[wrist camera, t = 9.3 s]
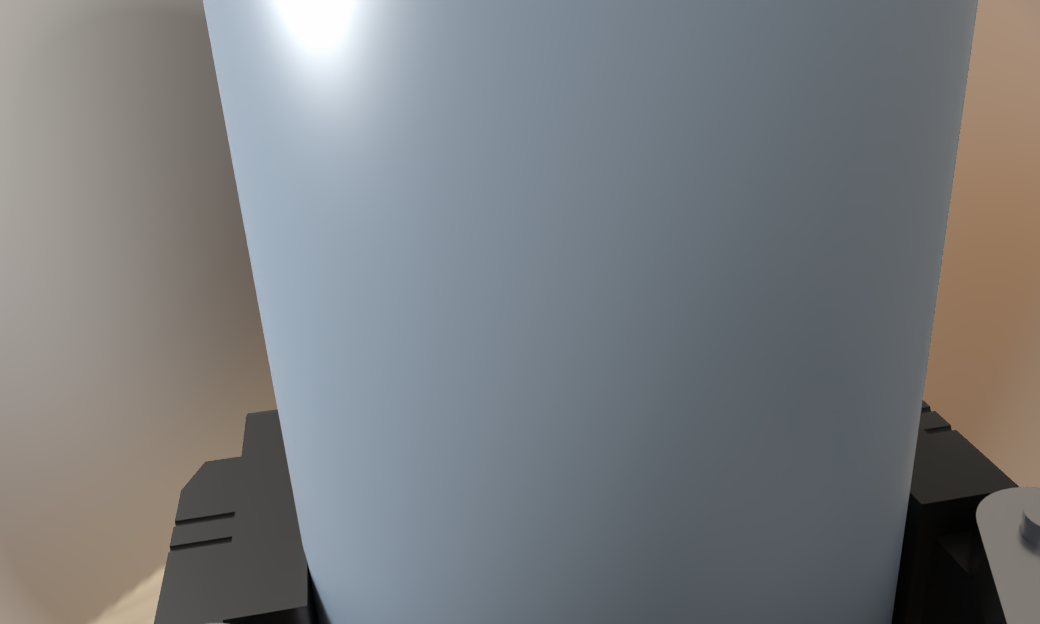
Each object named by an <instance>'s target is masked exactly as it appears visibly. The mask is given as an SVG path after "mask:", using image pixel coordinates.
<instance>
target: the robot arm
mask: <svg viewBox="0 0 1040 624" xmlns="http://www.w3.org/2000/svg"><path fill="white" fill-rule="evenodd" d="M175 524H176V527H174V528H173V533H172V538H171V543H170V550H171V551H170V552H169V553H168V558H167V562H166V567H165V572H164V577H163V582H162V587H161V592H160V596H159V601H158V606H157V611H156V616H155V621H154V624H319V623H318V617H317V612H316V606H315V601H314V595H313V590H312V584H311V579H310V573H309V568H308V562H307V559H306V555H305V552H304V548H303V545H302V539H301V534H300V528H299V523H298V517H297V512H296V506H295V501H294V495H293V490H292V484H291V479H290V474H289V468H288V463H287V457H286V452H285V446H284V441H283V435H282V430H281V424H280V419H279V413H278V409H277V410H270V411H262V412H256V413H249V414H247V417H246V424H245V432H244V441H243V450H242V457H235V458H229V459H221V460H214V461H208V462H205V463H204V464H203V465H202V466H201V468H200V469H199V470H198V471H197V473H196V474H195V475H194V476H193V477H192V478H191V480H190V481H189V482H188V483H187V484H186V486H185V487H184V488H183V489H182V490H181V495H180V499H179V504H178V509H177V514H176V519H175ZM891 624H1040V488H1037V487H1019V486H1018V485H1017V484H1015V483H1014V482H1013V481H1012V480H1011V479H1010V478H1009V477H1008V476H1006V475H1005V474H1004V473H1003V472H1002V471H1001V470H1000V469H999V468H998V467H997V466H995V465H994V464H993V463H992V462H991V461H990V460H989V459H988V458H986V457H985V456H984V455H983V454H982V453H981V452H980V451H979V450H978V449H976V448H975V447H974V446H973V445H972V444H971V443H970V442H969V441H968V440H967V439H965V438H964V437H963V436H962V435H961V434H960V433H959V432H958V431H956V430H954V431H952V430H951V425H950V424H949V423H948V422H946V421H945V420H944V419H943V418H942V417H941V416H940V415H939V414H938V413H937V412H935V411H933V412H931V410H930V406H929V405H928V404H927V403H925V402H924V401H923V400H922V407H921V415H920V422H919V429H918V436H917V443H916V450H915V458H914V465H913V472H912V479H911V486H910V494H909V501H908V508H907V515H906V522H905V530H904V537H903V544H902V551H901V558H900V565H899V573H898V580H897V587H896V594H895V601H894V609H893V616H892V623H891Z"/></svg>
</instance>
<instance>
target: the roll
mask: <svg viewBox="0 0 1040 624" xmlns="http://www.w3.org/2000/svg"><path fill="white" fill-rule="evenodd" d="M203 4H204V9H205V14H206V20H207V25H208V31H209V36H210V41H211V47H212V53H213V58H214V64H215V69H216V75H217V80H218V86H219V91H220V96H221V102H222V107H223V113H224V118H225V124H226V129H227V135H228V140H229V146H230V151H231V157H232V162H233V167H234V173H235V178H236V183H237V189H238V195H239V200H240V205H241V211H242V216H243V222H244V228H245V233H246V238H247V244H248V249H249V255H250V260H251V266H252V271H253V277H254V282H255V288H256V293H257V299H258V304H259V310H260V315H261V321H262V326H263V331H264V336H265V342H266V348H267V353H268V358H269V364H270V369H271V375H272V381H273V386H274V392H275V397H276V402H277V408H278V413H279V419H280V424H281V430H282V435H283V441H284V446H285V452H286V457H287V463H288V468H289V474H290V479H291V484H292V490H293V495H294V501H295V506H296V512H297V517H298V523H299V528H300V534H301V539H302V545H303V548H304V552H305V555H306V559H307V562H308V568H309V573H310V579H311V584H312V590H313V595H314V601H315V606H316V612H317V617H318V623H319V624H891V623H892V616H893V609H894V601H895V594H896V587H897V580H898V573H899V565H900V558H901V551H902V544H903V537H904V530H905V522H906V515H907V508H908V501H909V494H910V486H911V479H912V472H913V465H914V458H915V450H916V443H917V436H918V429H919V422H920V415H921V407H922V400H923V393H924V386H925V379H926V371H927V364H928V357H929V350H930V343H931V335H932V328H933V321H934V314H935V307H936V299H937V292H938V285H939V278H940V271H941V264H942V256H943V249H944V241H945V234H946V228H947V220H948V213H949V206H950V199H951V191H952V184H953V177H954V170H955V163H956V155H957V149H958V141H959V134H960V126H961V120H962V112H963V105H964V98H965V91H966V84H967V77H968V70H969V61H970V55H971V48H972V40H973V34H974V26H975V19H976V12H977V5H978V0H203Z"/></svg>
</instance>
